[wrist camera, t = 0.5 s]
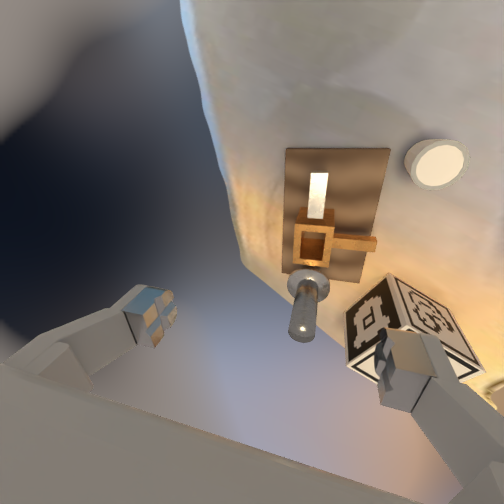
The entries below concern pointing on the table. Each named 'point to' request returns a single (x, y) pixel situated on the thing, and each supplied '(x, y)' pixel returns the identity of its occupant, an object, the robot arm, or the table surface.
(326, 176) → the wedge pin
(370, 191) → the base board
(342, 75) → the table surface
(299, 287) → the ringlock node
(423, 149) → the white short cylinder
